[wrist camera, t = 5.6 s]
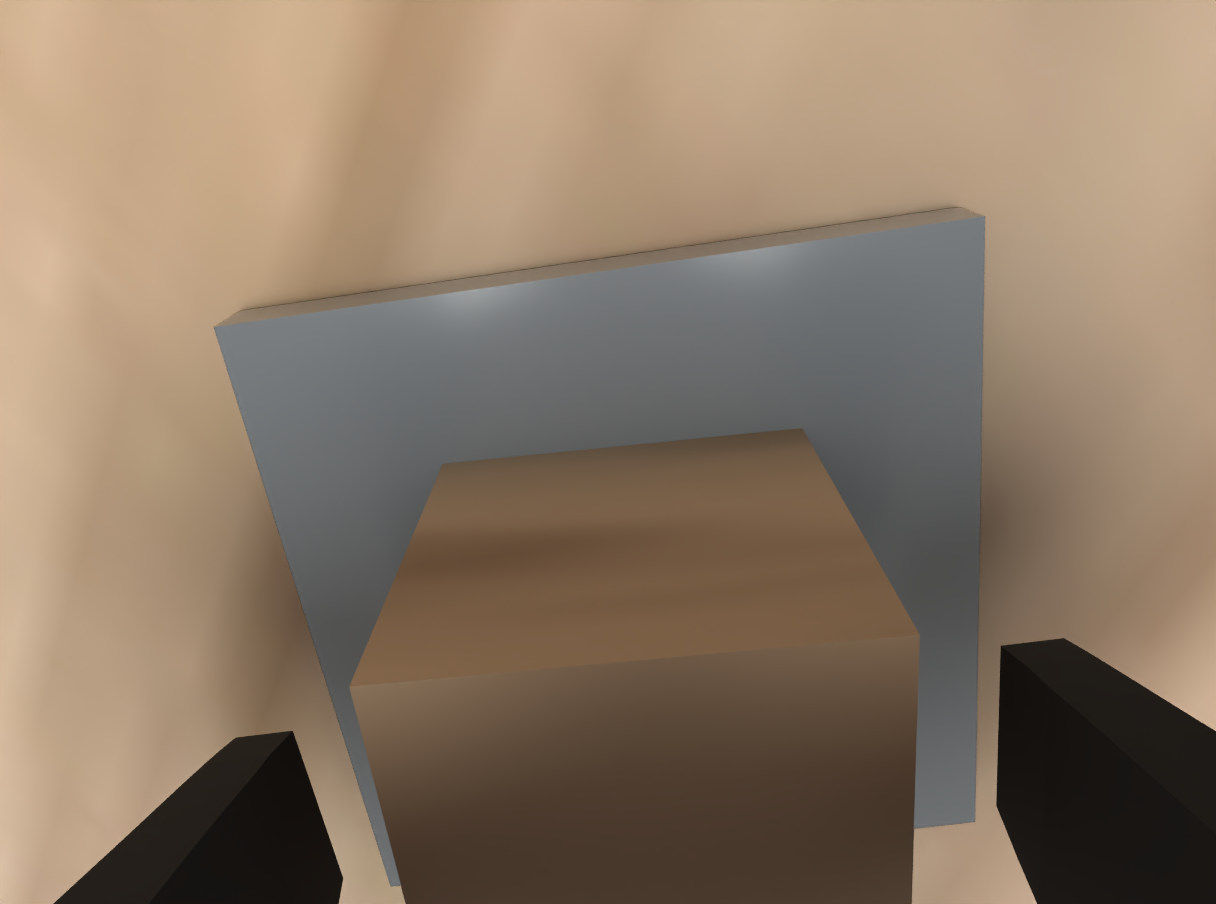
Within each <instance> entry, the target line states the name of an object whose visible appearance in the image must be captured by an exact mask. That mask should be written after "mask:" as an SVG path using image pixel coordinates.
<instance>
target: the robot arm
mask: <svg viewBox="0 0 1216 904" xmlns="http://www.w3.org/2000/svg"><path fill="white" fill-rule="evenodd" d="M996 806H997V808H998V811H999V813H1000V816H1001V818H1002V821H1003V823H1004V825H1005V828H1006V830H1007V833H1008V835H1009V838H1010V840H1011V843H1012V845H1013V848H1014V850H1015V853H1016V855H1017V858H1018V860H1019V862H1020V865H1021V867H1022V869H1023V872H1024V874H1025V876H1026V879H1027V881H1028V883H1029V886H1030V888H1031V890H1032V893H1033V895H1034V897H1035V899H1036V902H1037V904H1216V731H1214V730H1213V729H1211V728H1210V727H1208V726H1206V725H1205V724H1203V723H1201V722H1200V721H1198V720H1196V719H1195V718H1193V717H1192V716H1190V715H1188V714H1187V713H1185V712H1184V711H1182V710H1180V709H1179V708H1177V707H1176V706H1174V705H1172V704H1171V703H1169V702H1167V701H1166V700H1164V699H1163V698H1161V697H1159V696H1158V695H1156V694H1155V693H1153V692H1151V691H1150V690H1148V689H1147V688H1145V687H1143V686H1142V685H1140V684H1139V683H1137V682H1135V681H1134V680H1132V679H1131V678H1129V677H1127V676H1126V675H1124V674H1123V673H1121V672H1119V671H1118V670H1116V669H1114V668H1113V667H1111V666H1110V665H1108V664H1106V663H1105V662H1103V661H1101V660H1100V659H1098V658H1097V657H1095V656H1093V655H1092V654H1090V653H1088V652H1087V651H1085V650H1083V649H1081V648H1080V647H1078V646H1076V645H1074V644H1073V643H1071V642H1069V641H1067V640H1066V639H1064V638H1062V639H1054V640H1046V641H1037V642H1029V643H1021V644H1012V645H1004V646H1001V659H1000V695H999V731H998V766H997V802H996ZM342 882H343V876H342V873H341V871H340V868H339V865H338V862H337V859H336V856H335V853H334V850H333V847H332V844H331V841H330V838H329V835H328V833H327V830H326V827H325V824H324V821H323V818H322V815H321V812H320V809H319V806H318V803H317V800H316V797H315V795H314V792H313V789H312V786H311V783H310V780H309V777H308V774H307V771H306V768H305V765H304V762H303V759H302V757H301V754H300V751H299V748H298V745H297V742H296V739H295V736H294V733H293V731H288V732H279V733H271V734H263V735H254V736H246V737H238V738H235V739H234V740H232V741H231V742H230V743H229V744H228V745H226V746H225V747H224V748H223V749H221V750H220V751H219V752H218V753H217V754H216V755H214V756H213V757H212V758H211V759H210V760H209V761H208V762H206V763H205V764H204V765H203V766H202V767H201V768H200V769H199V770H198V771H196V772H195V773H194V774H193V775H192V776H191V777H190V778H189V779H188V780H187V781H186V782H184V783H183V784H182V785H181V786H180V787H179V788H178V789H177V790H176V791H175V792H174V793H173V794H171V795H170V796H169V797H168V798H167V799H166V800H165V801H164V802H163V803H162V804H161V805H160V806H159V807H158V808H156V809H155V810H154V811H153V812H152V813H151V814H150V815H149V816H148V817H147V818H146V819H145V820H144V821H143V822H141V823H140V824H139V825H138V826H137V827H136V828H135V829H134V830H133V831H132V832H131V833H130V834H129V835H128V836H126V837H125V838H124V839H123V840H122V841H121V842H120V843H119V844H118V845H117V846H116V847H115V848H113V849H112V850H111V851H110V852H109V853H108V854H107V855H106V856H105V857H104V858H103V859H101V860H100V861H99V862H98V863H97V864H96V865H95V866H94V867H93V868H92V869H91V870H90V871H88V872H87V873H86V874H85V875H84V876H83V877H82V878H81V879H80V880H79V881H78V882H77V883H75V884H74V885H73V886H72V887H71V888H70V889H69V890H68V891H67V892H66V893H65V894H64V895H62V896H61V897H60V898H59V899H58V900H57V901H56V902H55V903H54V904H339V898H340V893H341V887H342Z"/></svg>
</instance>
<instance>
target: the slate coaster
mask: <svg viewBox="0 0 1216 904" xmlns="http://www.w3.org/2000/svg"><path fill="white" fill-rule="evenodd" d="M984 249H985V216H983V215H980V214H977V213H975V212H972V211H969V210H966V209H963V208H961V207H956V208H949V209H942V210H935V211H928V212H921V213H914V214H907V215H901V216H894V217H887V218H880V219H873V220H866V221H859V222H852V223H845V224H838V225H831V226H824V227H817V228H810V229H804V230H797V231H790V232H783V233H776V234H769V235H762V236H755V237H748V238H741V239H734V240H727V241H720V242H713V243H706V244H700V245H693V246H686V247H679V248H672V249H665V250H658V251H651V252H644V253H637V254H630V255H623V256H616V257H609V258H603V259H596V260H589V261H582V262H575V263H568V264H561V265H554V266H547V267H540V268H533V269H526V270H519V271H512V272H506V273H499V274H492V275H485V276H478V277H471V278H464V279H457V280H450V281H443V282H436V283H429V284H422V285H415V286H409V287H402V288H395V289H388V290H381V291H374V292H367V293H360V294H353V295H346V296H339V297H332V298H325V299H318V300H312V301H305V302H298V303H291V304H284V305H277V306H270V307H263V308H256V309H249V310H242V311H238V312H237V313H235V314H233V315H232V316H230V317H229V318H227V319H226V320H224V321H222V322H221V323H219V324H218V325H216V326H215V327H214V330H215V333H216V336H217V339H218V342H219V345H220V349H221V352H222V355H223V358H224V361H225V364H226V368H227V371H228V374H229V377H230V380H231V383H232V387H233V390H234V393H235V396H236V399H237V402H238V405H239V409H240V412H241V415H242V418H243V421H244V424H245V428H246V431H247V434H248V437H249V440H250V443H251V447H252V450H253V453H254V456H255V459H256V462H257V465H258V469H259V472H260V475H261V478H262V481H263V484H264V488H265V491H266V494H267V497H268V500H269V503H270V507H271V510H272V513H273V516H274V519H275V522H276V526H277V529H278V532H279V535H280V538H281V541H282V544H283V548H284V551H285V554H286V557H287V560H288V563H289V567H290V570H291V573H292V576H293V579H294V582H295V586H296V589H297V592H298V595H299V598H300V601H301V604H302V608H303V611H304V614H305V617H306V620H307V623H308V627H309V630H310V633H311V636H312V639H313V642H314V646H315V649H316V652H317V655H318V658H319V661H320V665H321V668H322V671H323V674H324V677H325V680H326V683H327V687H328V690H329V693H330V696H331V699H332V702H333V706H334V709H335V712H336V715H337V718H338V721H339V725H340V728H341V731H342V734H343V737H344V740H345V744H346V747H347V750H348V753H349V756H350V759H351V762H352V766H353V769H354V772H355V775H356V778H357V781H358V785H359V788H360V791H361V794H362V797H363V800H364V804H365V807H366V810H367V813H368V816H369V819H370V822H371V826H372V829H373V832H374V835H375V838H376V841H377V845H378V848H379V851H380V854H381V857H382V860H383V864H384V867H385V870H386V873H387V876H388V879H389V883H390V886H400V885H401V883H400V880H399V876H398V872H397V868H396V864H395V860H394V857H393V853H392V849H391V845H390V841H389V837H388V834H387V830H386V826H385V822H384V818H383V814H382V811H381V807H380V803H379V799H378V795H377V791H376V788H375V784H374V780H373V776H372V772H371V768H370V765H369V761H368V757H367V753H366V749H365V745H364V741H363V738H362V734H361V730H360V726H359V722H358V718H357V715H356V711H355V707H354V703H353V699H352V695H351V692H350V688H349V686H350V684H351V681H352V679H353V676H354V674H355V672H356V669H357V667H358V665H359V662H360V660H361V657H362V655H363V653H364V650H365V648H366V645H367V643H368V641H369V638H370V636H371V634H372V631H373V629H374V626H375V624H376V622H377V619H378V617H379V614H380V612H381V610H382V607H383V605H384V603H385V600H386V598H387V595H388V593H389V591H390V588H391V586H392V583H393V581H394V579H395V576H396V574H397V572H398V569H399V567H400V564H401V562H402V560H403V557H404V555H405V552H406V550H407V548H408V545H409V543H410V541H411V538H412V536H413V533H414V531H415V529H416V526H417V524H418V521H419V519H420V517H421V514H422V512H423V510H424V507H425V505H426V502H427V500H428V498H429V495H430V493H431V490H432V488H433V486H434V483H435V481H436V479H437V476H438V474H439V471H440V469H441V467H442V464H446V463H456V462H466V461H476V460H486V459H496V458H506V457H516V456H526V455H536V454H547V453H557V452H567V451H577V450H587V449H597V448H607V447H617V446H627V445H637V444H647V443H657V442H667V441H677V440H687V439H697V438H707V437H717V436H727V435H737V434H747V433H757V432H768V431H778V430H788V429H798V428H802V429H803V431H804V432H805V434H806V436H807V438H808V439H809V441H810V443H811V445H812V446H813V448H814V450H815V452H816V453H817V455H818V457H819V459H820V460H821V462H822V464H823V466H824V467H825V469H826V471H827V473H828V474H829V476H830V478H831V480H832V481H833V483H834V485H835V487H836V488H837V490H838V492H839V494H840V496H841V497H842V499H843V501H844V503H845V504H846V506H847V508H848V510H849V511H850V513H851V515H852V517H853V518H854V520H855V522H856V524H857V525H858V527H859V529H860V531H861V532H862V534H863V536H864V538H865V539H866V541H867V543H868V545H869V546H870V548H871V550H872V552H873V553H874V555H875V557H876V559H877V561H878V562H879V564H880V566H881V568H882V569H883V571H884V573H885V575H886V576H887V578H888V580H889V582H890V583H891V585H892V587H893V589H894V590H895V592H896V594H897V596H898V597H899V599H900V601H901V603H902V604H903V606H904V608H905V610H906V611H907V613H908V615H909V617H910V618H911V620H912V622H913V624H914V626H915V627H916V629H917V631H918V633H919V634H920V645H919V677H918V710H917V742H916V775H915V807H914V829H916V828H925V827H934V826H943V825H952V824H961V823H970V822H975V798H976V737H977V676H978V615H979V554H980V493H981V432H982V371H983V310H984Z"/></svg>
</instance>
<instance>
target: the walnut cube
mask: <svg viewBox="0 0 1216 904" xmlns="http://www.w3.org/2000/svg"><path fill="white" fill-rule="evenodd" d="M919 645H920V634H919V633H918V631H917V629H916V627H915V626H914V624H913V622H912V620H911V618H910V617H909V615H908V613H907V611H906V610H905V608H904V606H903V604H902V603H901V601H900V599H899V597H898V596H897V594H896V592H895V590H894V589H893V587H892V585H891V583H890V582H889V580H888V578H887V576H886V575H885V573H884V571H883V569H882V568H881V566H880V564H879V562H878V561H877V559H876V557H875V555H874V553H873V552H872V550H871V548H870V546H869V545H868V543H867V541H866V539H865V538H864V536H863V534H862V532H861V531H860V529H859V527H858V525H857V524H856V522H855V520H854V518H853V517H852V515H851V513H850V511H849V510H848V508H847V506H846V504H845V503H844V501H843V499H842V497H841V496H840V494H839V492H838V490H837V488H836V487H835V485H834V483H833V481H832V480H831V478H830V476H829V474H828V473H827V471H826V469H825V467H824V466H823V464H822V462H821V460H820V459H819V457H818V455H817V453H816V452H815V450H814V448H813V446H812V445H811V443H810V441H809V439H808V438H807V436H806V434H805V432H804V431H803V429H802V428H798V429H788V430H778V431H768V432H757V433H747V434H737V435H727V436H717V437H707V438H697V439H687V440H677V441H667V442H657V443H647V444H637V445H627V446H617V447H607V448H597V449H587V450H577V451H567V452H557V453H547V454H536V455H526V456H516V457H506V458H496V459H486V460H476V461H466V462H456V463H446V464H442V467H441V469H440V471H439V474H438V476H437V479H436V481H435V483H434V486H433V488H432V490H431V493H430V495H429V498H428V500H427V502H426V505H425V507H424V510H423V512H422V514H421V517H420V519H419V521H418V524H417V526H416V529H415V531H414V533H413V536H412V538H411V541H410V543H409V545H408V548H407V550H406V552H405V555H404V557H403V560H402V562H401V564H400V567H399V569H398V572H397V574H396V576H395V579H394V581H393V583H392V586H391V588H390V591H389V593H388V595H387V598H386V600H385V603H384V605H383V607H382V610H381V612H380V614H379V617H378V619H377V622H376V624H375V626H374V629H373V631H372V634H371V636H370V638H369V641H368V643H367V645H366V648H365V650H364V653H363V655H362V657H361V660H360V662H359V665H358V667H357V669H356V672H355V674H354V676H353V679H352V681H351V684H350V686H349V688H350V692H351V695H352V699H353V703H354V707H355V711H356V715H357V718H358V722H359V726H360V730H361V734H362V738H363V741H364V745H365V749H366V753H367V757H368V761H369V765H370V768H371V772H372V776H373V780H374V784H375V788H376V791H377V795H378V799H379V803H380V807H381V811H382V814H383V818H384V822H385V826H386V830H387V834H388V837H389V841H390V845H391V849H392V853H393V857H394V860H395V864H396V868H397V872H398V876H399V880H400V883H401V887H402V891H403V895H404V899H405V903H406V904H912V872H913V840H914V807H915V775H916V742H917V710H918V677H919Z"/></svg>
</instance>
